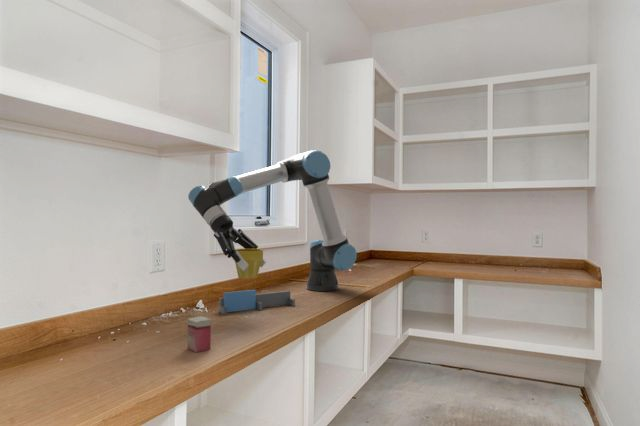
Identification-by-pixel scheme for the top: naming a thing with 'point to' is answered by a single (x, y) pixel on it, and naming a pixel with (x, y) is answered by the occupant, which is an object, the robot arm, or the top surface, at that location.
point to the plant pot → (250, 263)
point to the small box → (199, 334)
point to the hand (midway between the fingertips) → (255, 266)
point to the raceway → (253, 300)
